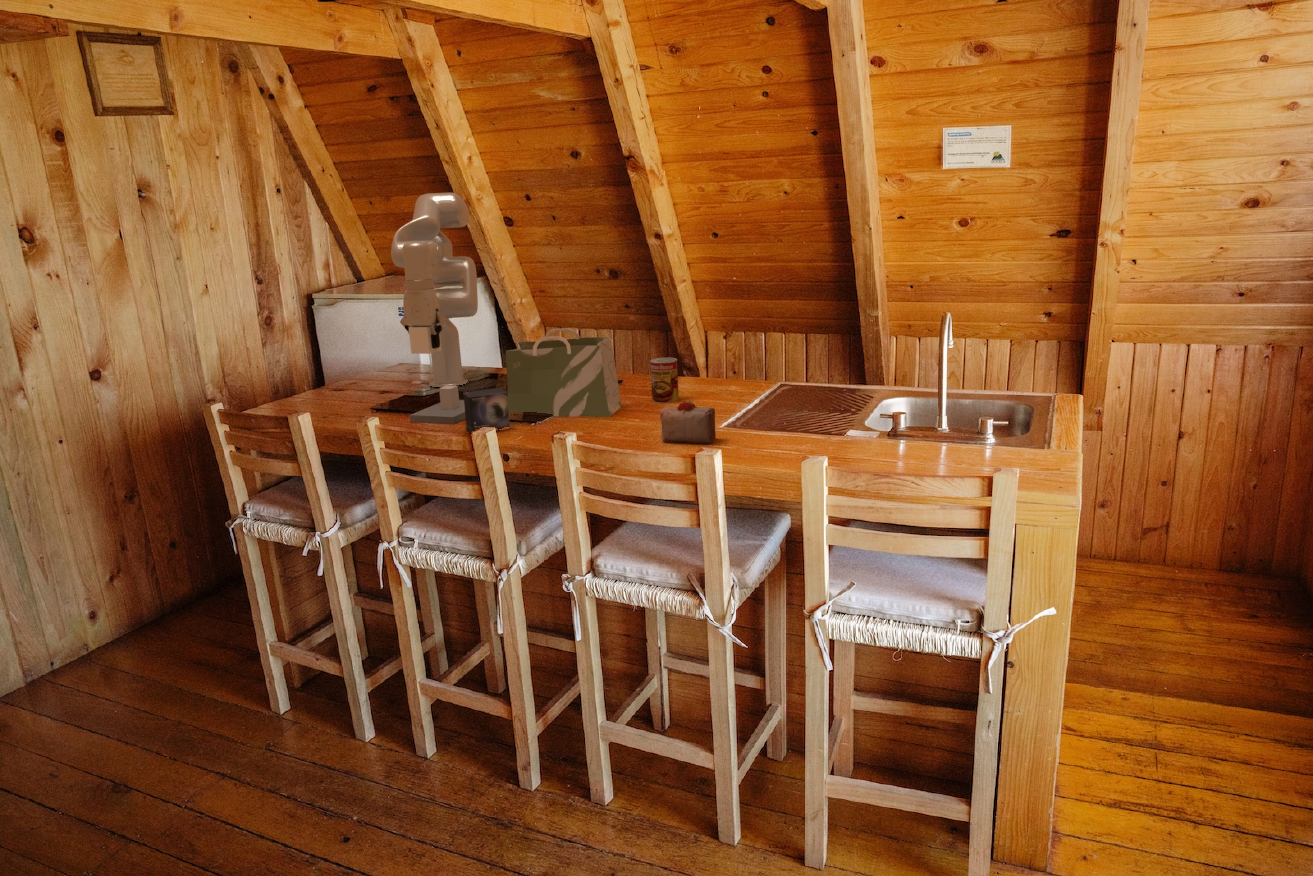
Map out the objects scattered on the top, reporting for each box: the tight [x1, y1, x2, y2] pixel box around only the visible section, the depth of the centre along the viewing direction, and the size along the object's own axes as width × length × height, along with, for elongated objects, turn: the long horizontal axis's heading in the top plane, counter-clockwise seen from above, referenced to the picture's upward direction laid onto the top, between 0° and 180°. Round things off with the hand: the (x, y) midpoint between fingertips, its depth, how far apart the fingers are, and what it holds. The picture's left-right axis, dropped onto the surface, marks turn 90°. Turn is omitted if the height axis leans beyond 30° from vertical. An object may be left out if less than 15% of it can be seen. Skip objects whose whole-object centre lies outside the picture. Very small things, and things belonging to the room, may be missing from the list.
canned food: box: [649, 357, 680, 404], centre depth 278 cm, size 8×8×12 cm
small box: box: [463, 387, 511, 434], centre depth 253 cm, size 11×6×10 cm, turn 117°
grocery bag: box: [505, 327, 622, 418], centre depth 269 cm, size 32×14×23 cm, turn 76°
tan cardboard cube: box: [408, 326, 441, 355], centre depth 278 cm, size 6×6×8 cm
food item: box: [658, 399, 717, 445], centre depth 234 cm, size 14×8×10 cm, turn 72°
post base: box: [409, 386, 466, 425], centre depth 272 cm, size 20×14×8 cm
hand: (426, 347), depth 278 cm, fingers closed on tan cardboard cube, 6 cm apart
